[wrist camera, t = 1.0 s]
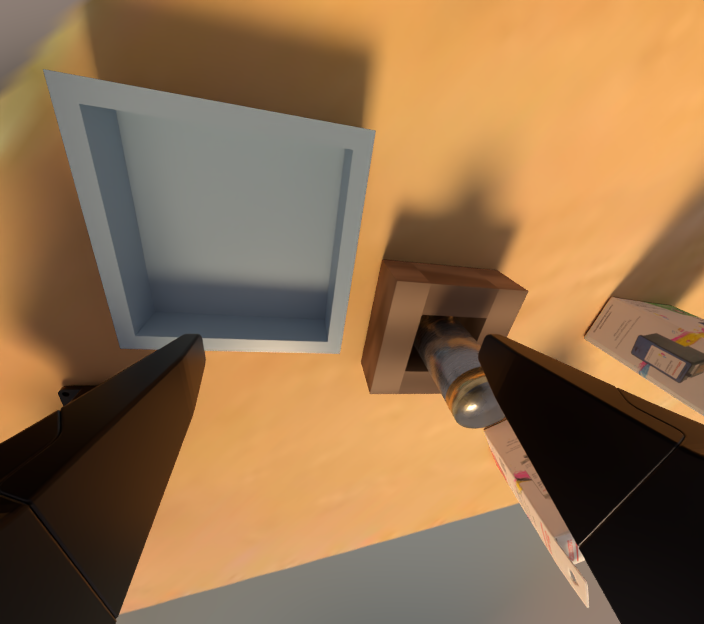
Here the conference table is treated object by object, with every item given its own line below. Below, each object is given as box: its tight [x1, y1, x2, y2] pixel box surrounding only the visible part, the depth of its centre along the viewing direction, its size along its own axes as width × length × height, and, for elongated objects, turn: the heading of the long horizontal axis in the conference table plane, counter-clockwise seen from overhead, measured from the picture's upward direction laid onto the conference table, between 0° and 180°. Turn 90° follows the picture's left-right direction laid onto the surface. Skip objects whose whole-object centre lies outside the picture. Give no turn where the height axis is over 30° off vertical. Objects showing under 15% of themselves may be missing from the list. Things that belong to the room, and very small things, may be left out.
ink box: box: [584, 297, 704, 416], centre depth 25 cm, size 9×5×12 cm, turn 78°
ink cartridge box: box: [484, 420, 589, 608], centre depth 31 cm, size 9×5×15 cm, turn 26°
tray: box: [43, 69, 376, 354], centre depth 19 cm, size 14×14×4 cm
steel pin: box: [413, 315, 505, 428], centre depth 22 cm, size 4×4×10 cm
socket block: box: [361, 260, 528, 394], centre depth 25 cm, size 10×10×4 cm
